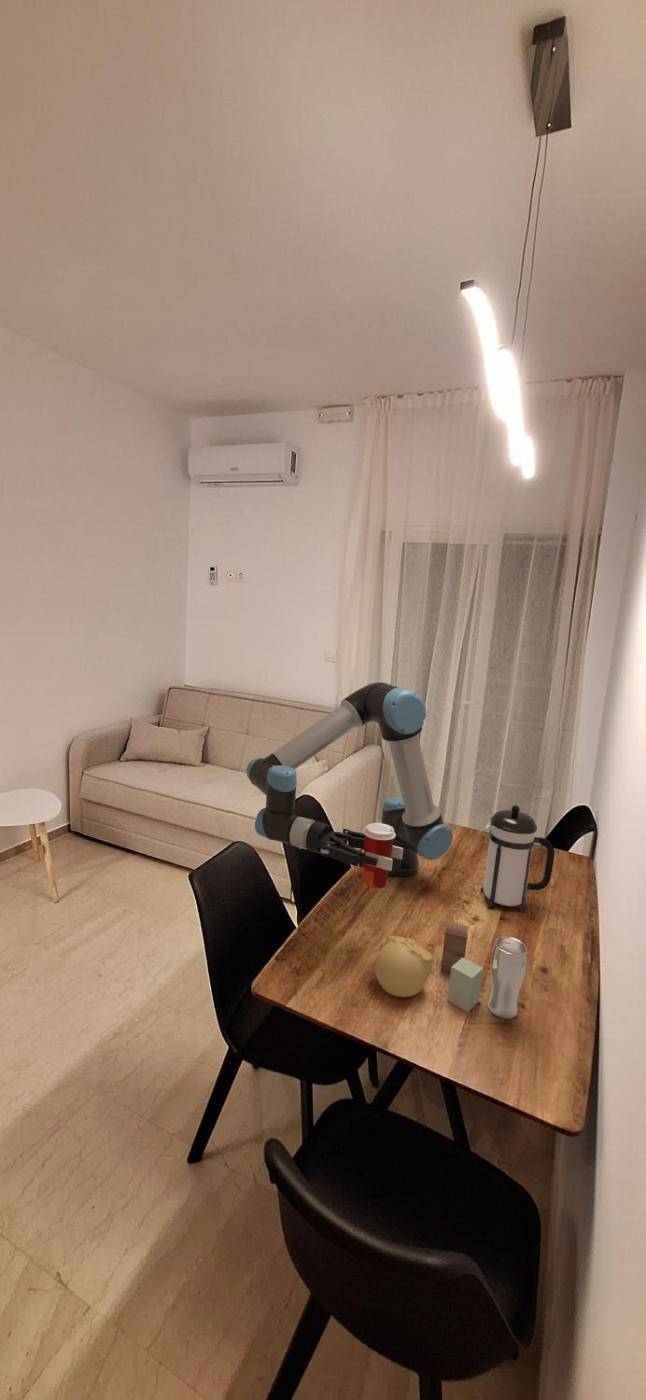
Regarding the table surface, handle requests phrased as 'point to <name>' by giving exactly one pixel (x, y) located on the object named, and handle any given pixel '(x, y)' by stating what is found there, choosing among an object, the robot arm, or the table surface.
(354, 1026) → the table surface
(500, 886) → the coffee press
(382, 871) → the paper cup
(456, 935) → the walnut block
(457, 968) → the sage block
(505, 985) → the beer glass
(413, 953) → the sculpture
